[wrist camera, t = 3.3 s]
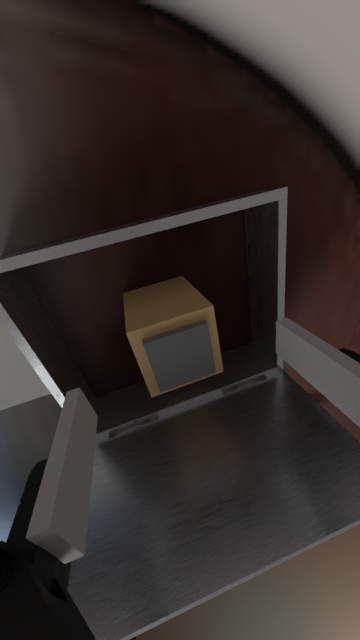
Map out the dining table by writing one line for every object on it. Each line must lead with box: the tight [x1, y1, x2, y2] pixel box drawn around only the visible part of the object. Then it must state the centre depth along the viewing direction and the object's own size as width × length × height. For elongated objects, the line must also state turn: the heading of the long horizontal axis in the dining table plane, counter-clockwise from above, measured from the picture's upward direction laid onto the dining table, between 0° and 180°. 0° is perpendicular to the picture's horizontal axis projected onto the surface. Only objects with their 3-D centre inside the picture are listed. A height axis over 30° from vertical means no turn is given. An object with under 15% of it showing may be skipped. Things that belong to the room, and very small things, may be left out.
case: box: [0, 187, 360, 640], centre depth 15 cm, size 23×18×17 cm
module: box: [123, 276, 224, 397], centre depth 19 cm, size 6×6×9 cm
